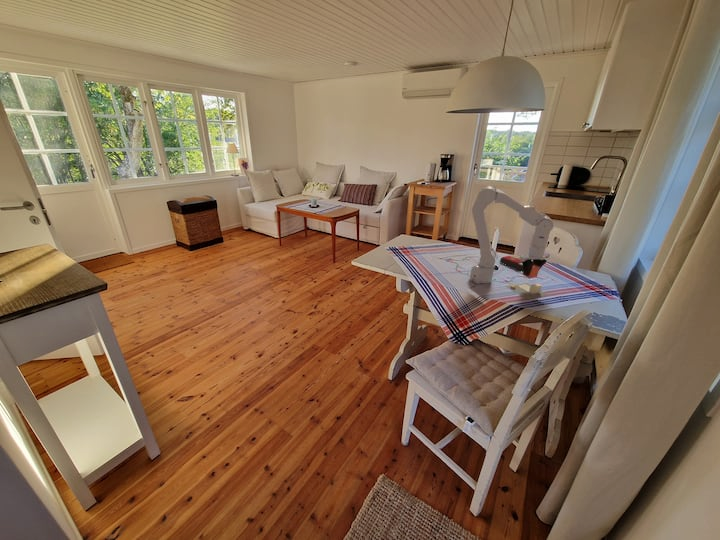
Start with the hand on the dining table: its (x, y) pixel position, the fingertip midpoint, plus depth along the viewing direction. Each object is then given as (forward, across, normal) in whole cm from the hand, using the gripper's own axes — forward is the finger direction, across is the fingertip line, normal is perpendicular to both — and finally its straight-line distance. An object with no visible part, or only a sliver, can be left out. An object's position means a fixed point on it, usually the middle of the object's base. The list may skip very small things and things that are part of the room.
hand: (529, 274), depth 128 cm
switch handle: (+6, 0, -5) cm, 8 cm away
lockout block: (+1, 0, 0) cm, 1 cm away
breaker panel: (+8, -2, -2) cm, 9 cm away
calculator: (+9, +19, +24) cm, 32 cm away
